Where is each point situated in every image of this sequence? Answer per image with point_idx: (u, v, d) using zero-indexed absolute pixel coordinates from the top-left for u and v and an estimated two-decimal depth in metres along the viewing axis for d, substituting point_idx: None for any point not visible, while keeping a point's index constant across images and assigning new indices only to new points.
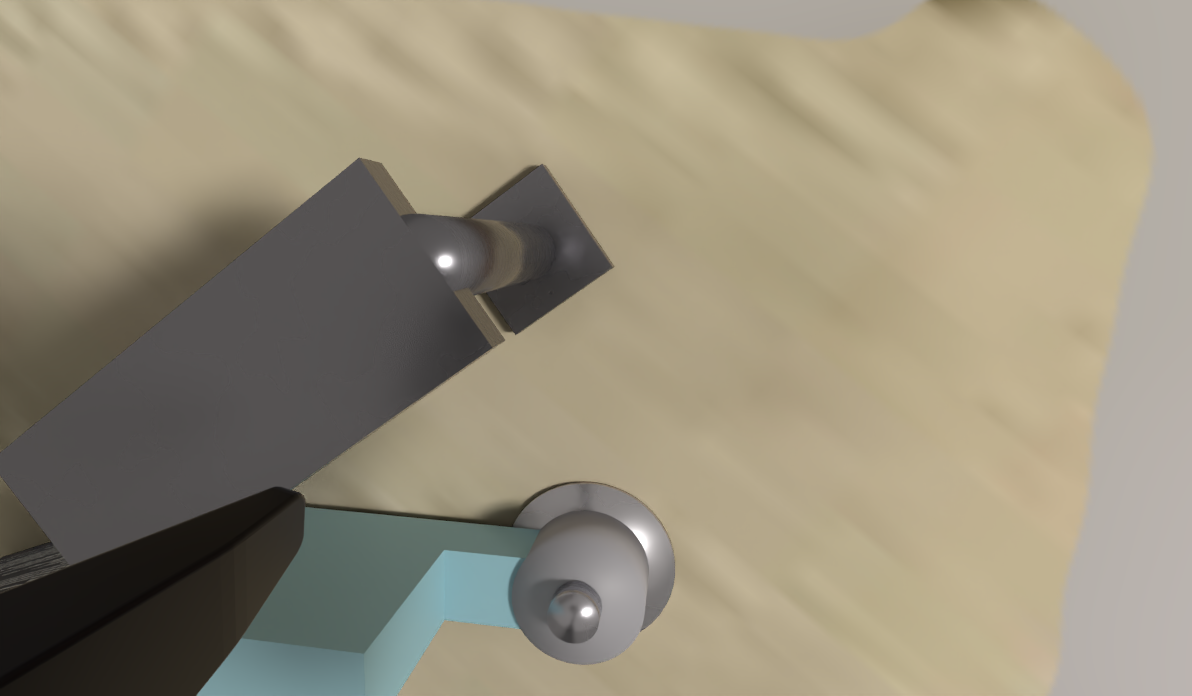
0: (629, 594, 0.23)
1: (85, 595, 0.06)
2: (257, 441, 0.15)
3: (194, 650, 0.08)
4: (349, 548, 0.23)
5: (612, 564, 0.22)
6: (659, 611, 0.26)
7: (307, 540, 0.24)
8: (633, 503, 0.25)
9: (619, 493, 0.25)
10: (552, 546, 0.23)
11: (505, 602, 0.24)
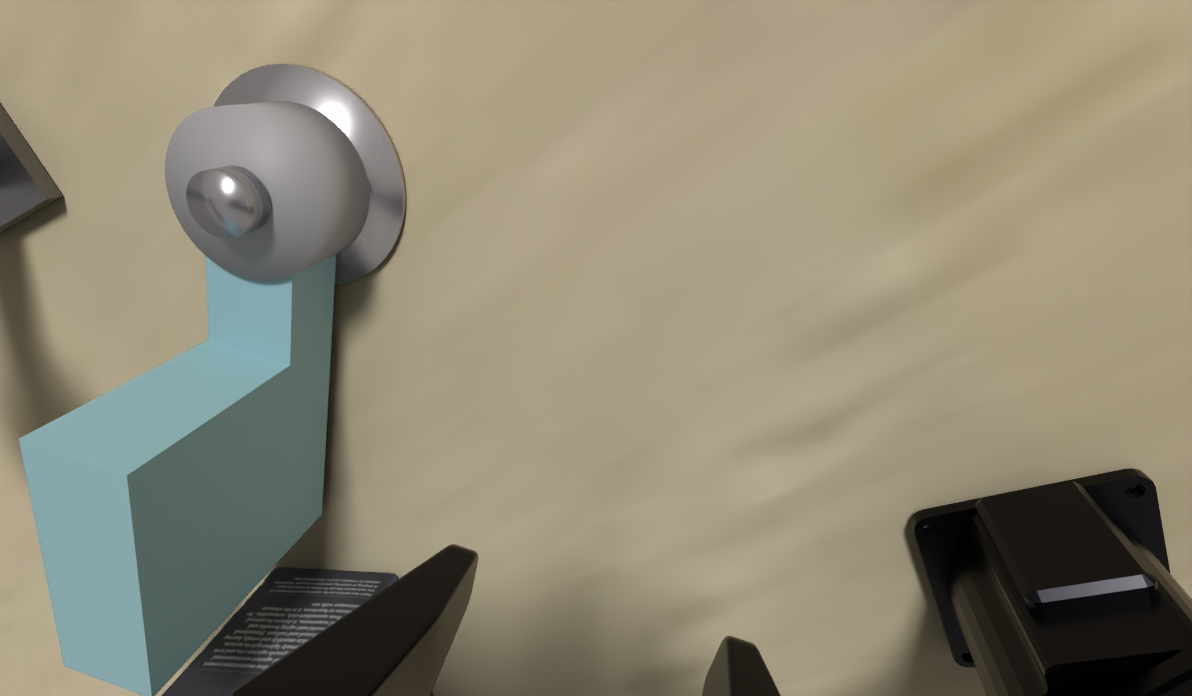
0: (223, 125, 0.17)
1: (327, 681, 0.06)
2: None
3: None
4: None
5: (188, 138, 0.17)
6: (357, 100, 0.19)
7: None
8: (221, 105, 0.20)
9: None
10: (178, 211, 0.18)
11: (261, 288, 0.19)
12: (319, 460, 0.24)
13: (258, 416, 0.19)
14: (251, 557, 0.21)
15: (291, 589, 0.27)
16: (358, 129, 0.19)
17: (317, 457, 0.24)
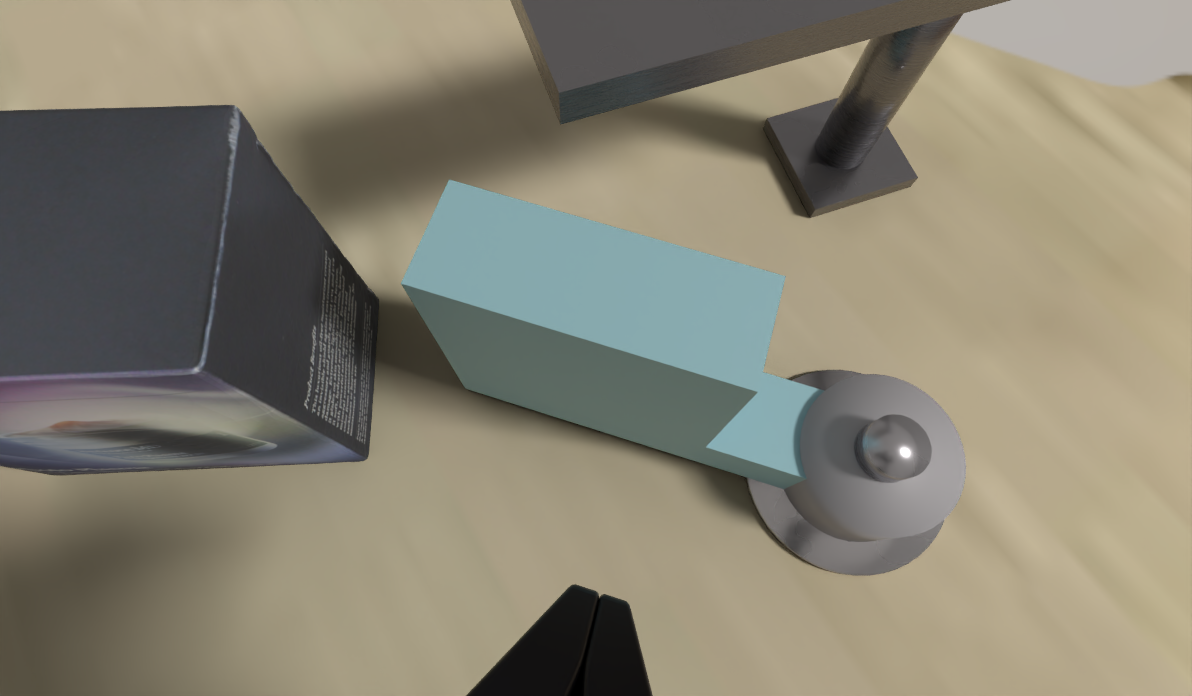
0: (948, 452, 0.19)
1: None
2: None
3: None
4: None
5: (931, 413, 0.19)
6: (927, 544, 0.21)
7: None
8: None
9: None
10: (862, 378, 0.20)
11: (789, 439, 0.19)
12: (546, 411, 0.21)
13: (678, 425, 0.18)
14: (491, 363, 0.18)
15: (365, 329, 0.22)
16: (901, 539, 0.21)
17: (554, 413, 0.21)
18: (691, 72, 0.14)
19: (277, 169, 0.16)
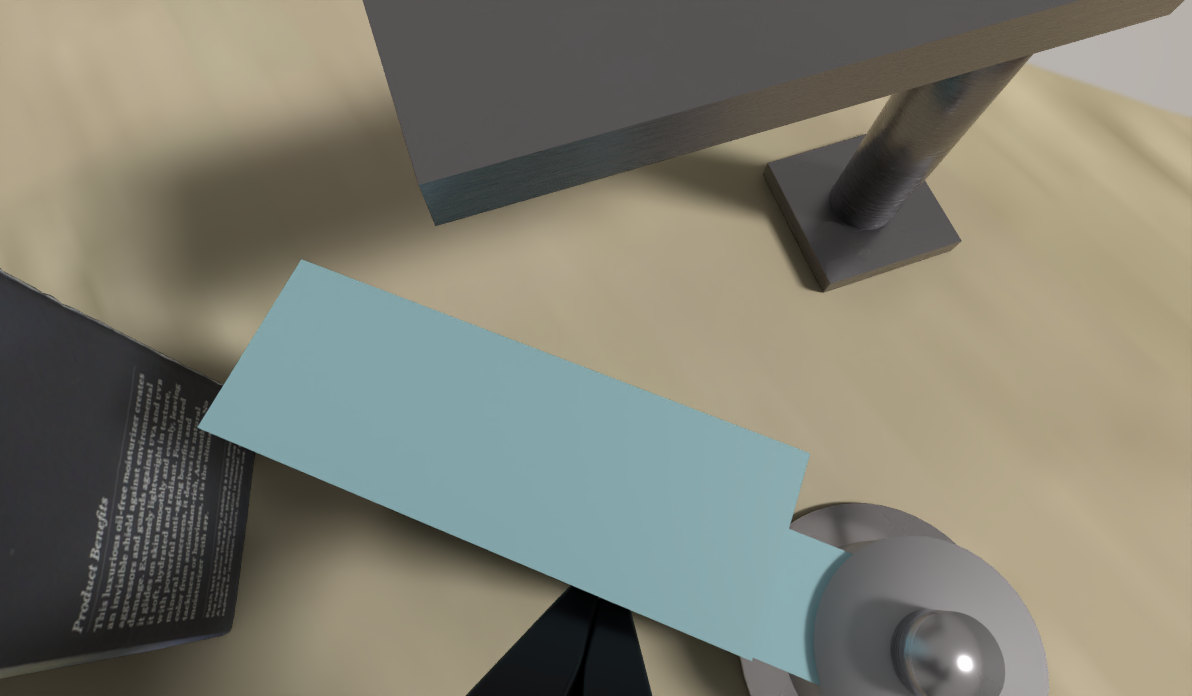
0: (1024, 663, 0.13)
1: None
2: None
3: None
4: None
5: (1002, 600, 0.14)
6: None
7: None
8: None
9: (936, 533, 0.17)
10: (907, 542, 0.14)
11: (799, 624, 0.14)
12: None
13: None
14: None
15: (231, 456, 0.16)
16: None
17: None
18: (645, 143, 0.09)
19: (16, 283, 0.10)
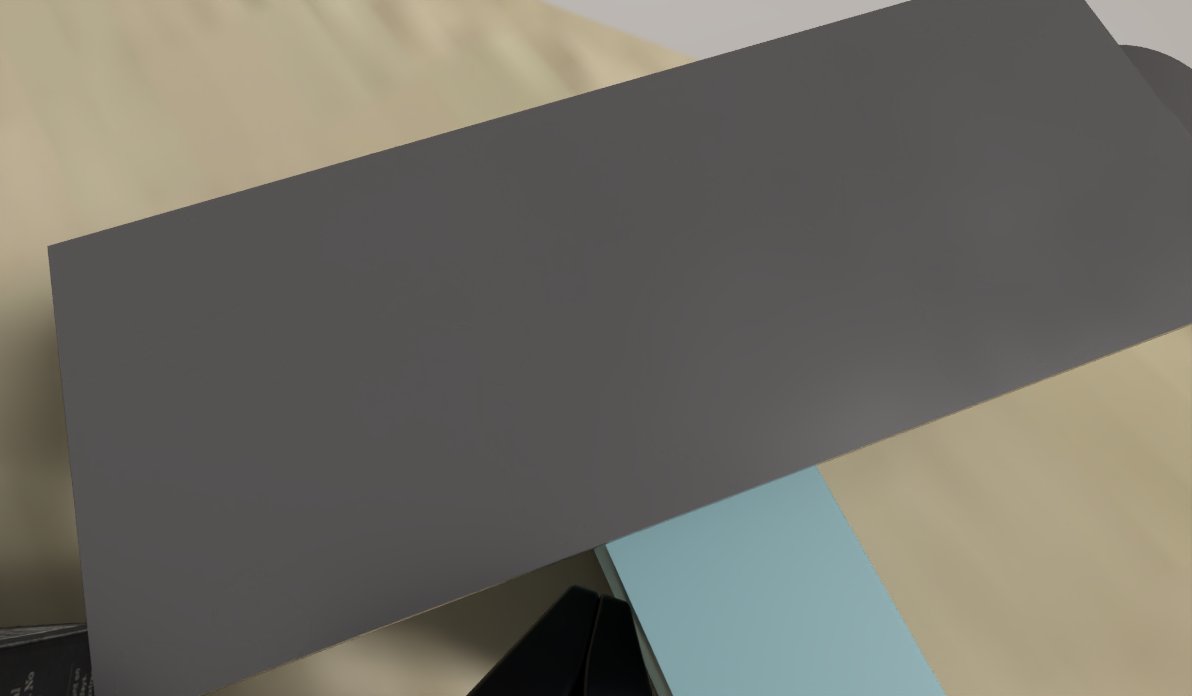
0: None
1: None
2: (738, 347, 0.07)
3: None
4: None
5: None
6: None
7: None
8: None
9: None
10: None
11: None
12: None
13: None
14: None
15: None
16: None
17: None
18: None
19: None
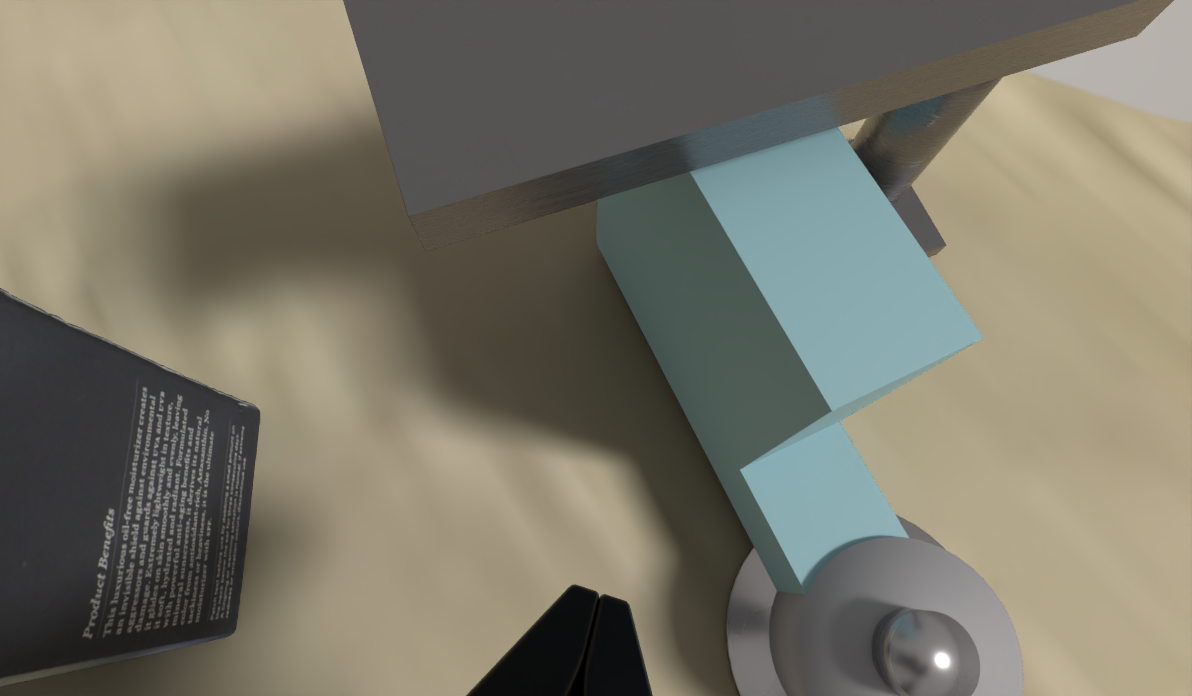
0: None
1: None
2: (806, 18, 0.10)
3: None
4: None
5: (1006, 673, 0.14)
6: None
7: None
8: None
9: (919, 532, 0.17)
10: (963, 567, 0.15)
11: (826, 543, 0.15)
12: (639, 318, 0.19)
13: (732, 416, 0.14)
14: (626, 211, 0.15)
15: (232, 462, 0.17)
16: None
17: (643, 325, 0.18)
18: (626, 171, 0.09)
19: (23, 305, 0.11)
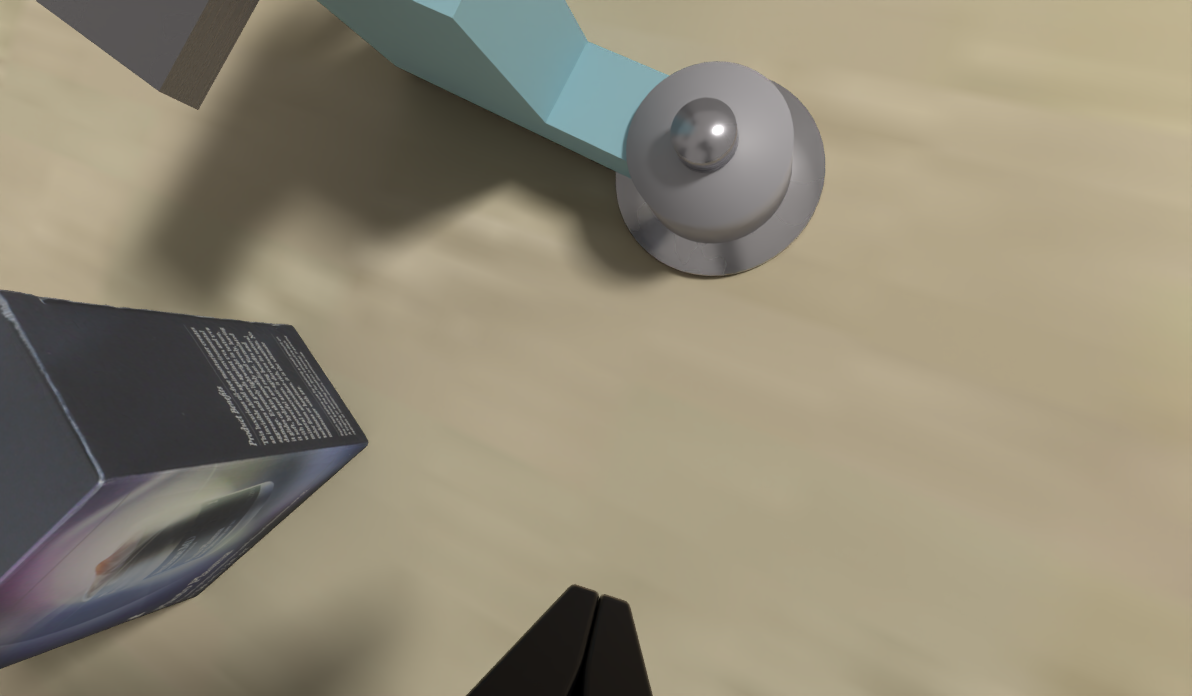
0: (774, 150, 0.18)
1: None
2: None
3: None
4: None
5: (772, 107, 0.18)
6: (821, 184, 0.20)
7: None
8: None
9: None
10: (712, 66, 0.19)
11: (623, 122, 0.20)
12: (450, 90, 0.23)
13: (499, 89, 0.19)
14: (356, 20, 0.20)
15: (291, 355, 0.24)
16: (796, 197, 0.20)
17: (454, 90, 0.23)
18: None
19: (82, 304, 0.18)
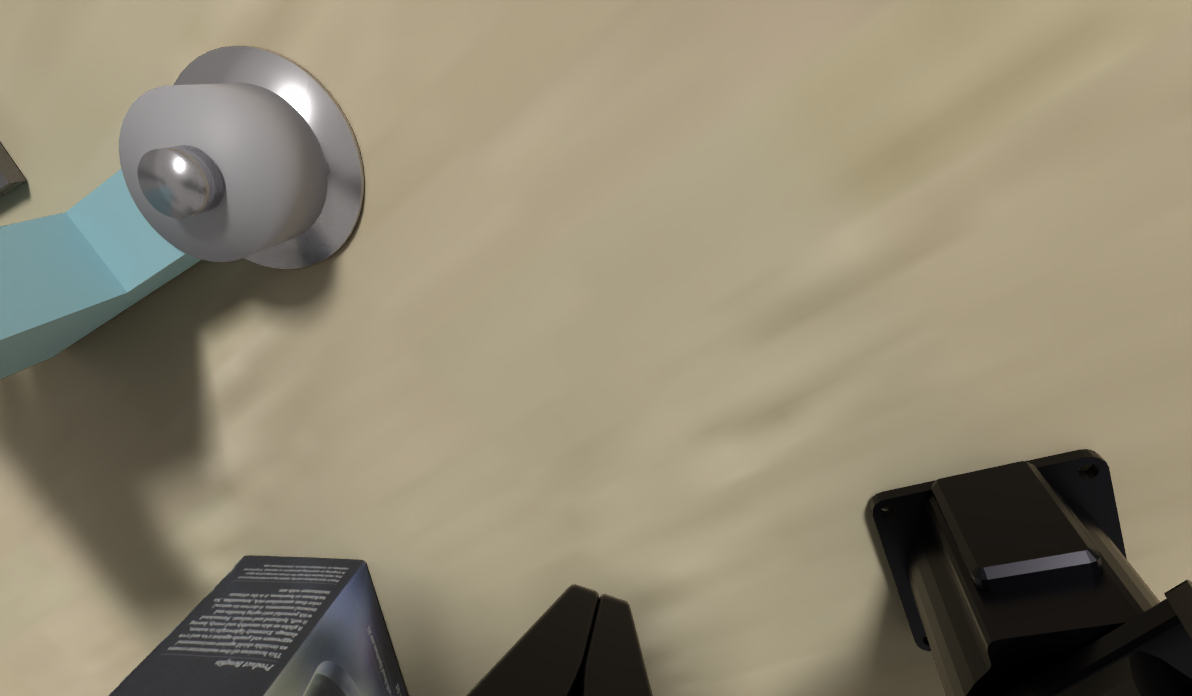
0: (227, 126, 0.17)
1: None
2: None
3: None
4: None
5: (186, 101, 0.17)
6: (313, 81, 0.19)
7: None
8: None
9: None
10: (126, 126, 0.18)
11: (152, 232, 0.19)
12: (88, 331, 0.24)
13: (64, 322, 0.19)
14: None
15: (259, 575, 0.27)
16: (315, 111, 0.19)
17: (89, 330, 0.23)
18: None
19: None
